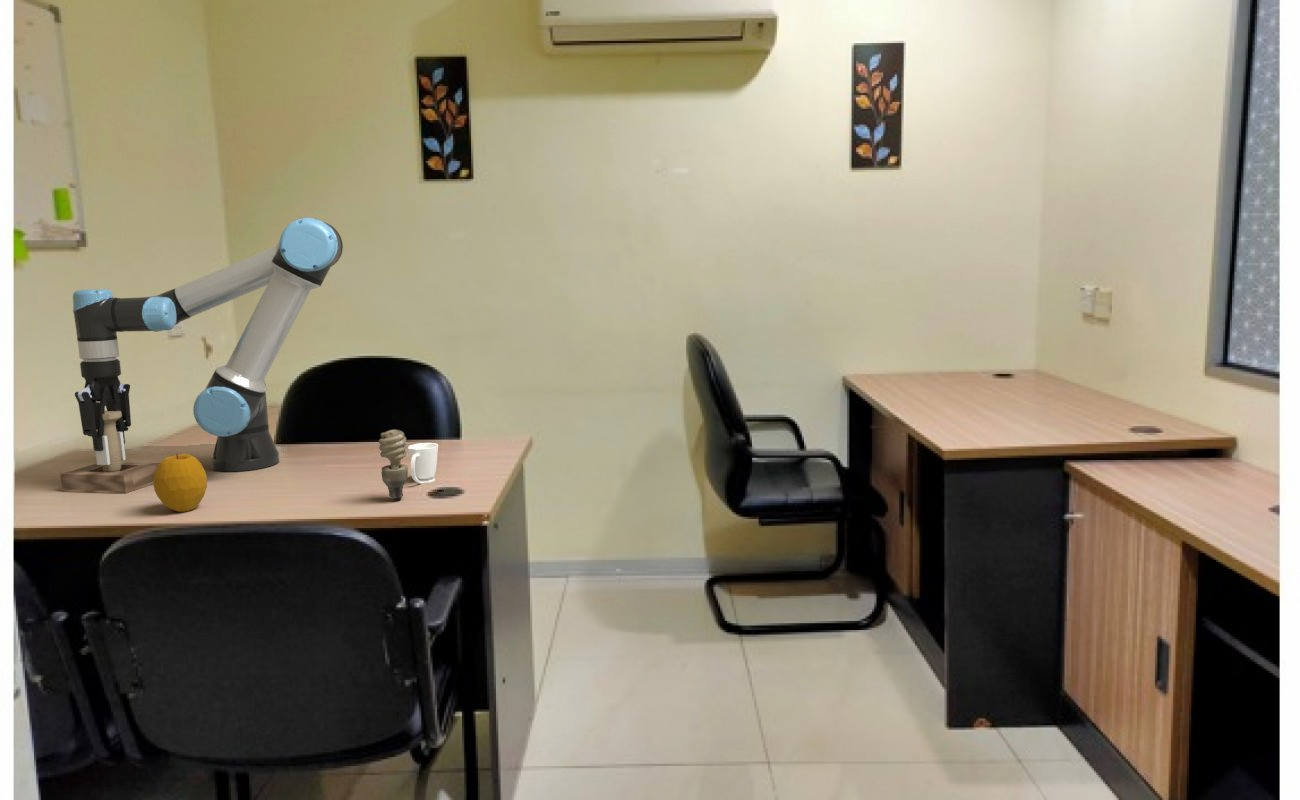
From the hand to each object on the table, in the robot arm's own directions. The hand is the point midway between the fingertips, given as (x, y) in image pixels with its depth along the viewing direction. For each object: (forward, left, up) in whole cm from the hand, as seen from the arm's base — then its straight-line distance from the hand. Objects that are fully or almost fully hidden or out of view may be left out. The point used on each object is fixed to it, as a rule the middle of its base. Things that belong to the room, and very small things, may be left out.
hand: (111, 461), depth 197 cm
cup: (-70, -10, -6) cm, 71 cm away
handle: (0, 0, -4) cm, 4 cm away
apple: (-30, +16, -6) cm, 35 cm away
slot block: (0, 0, -6) cm, 6 cm away
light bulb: (-71, +5, -6) cm, 71 cm away
